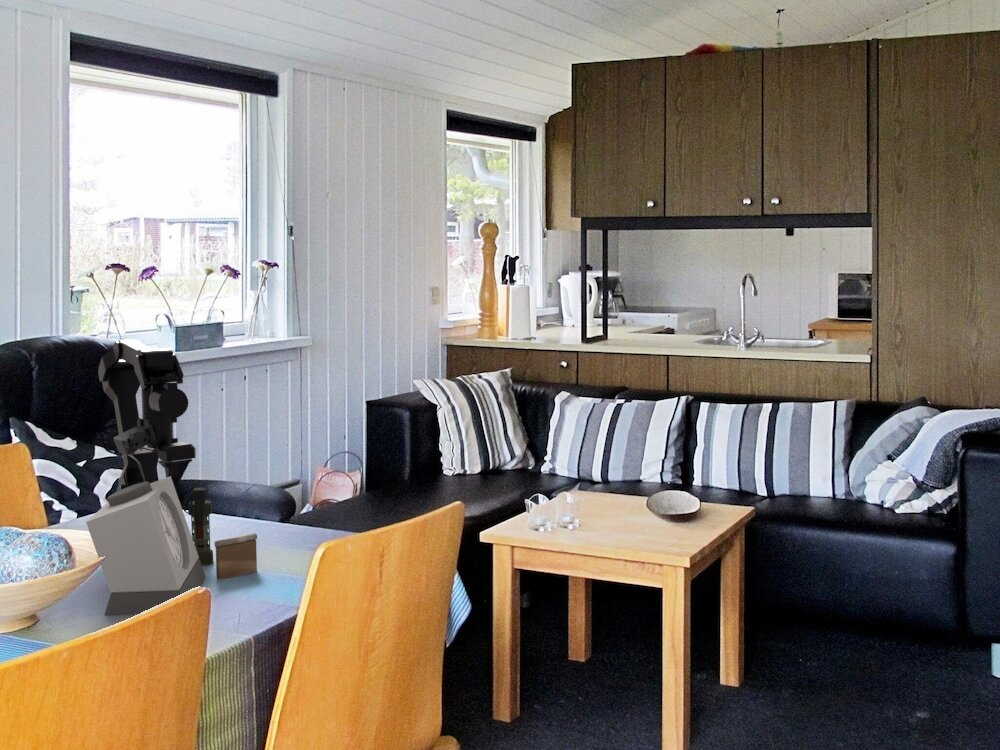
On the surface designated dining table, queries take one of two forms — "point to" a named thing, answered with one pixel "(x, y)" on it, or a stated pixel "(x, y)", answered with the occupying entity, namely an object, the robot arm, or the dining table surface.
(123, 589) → the alarm clock
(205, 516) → the grenade
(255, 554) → the wooden panel
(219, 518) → the dining table surface
